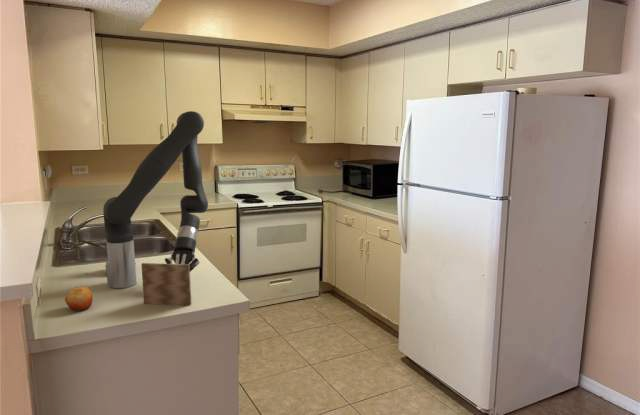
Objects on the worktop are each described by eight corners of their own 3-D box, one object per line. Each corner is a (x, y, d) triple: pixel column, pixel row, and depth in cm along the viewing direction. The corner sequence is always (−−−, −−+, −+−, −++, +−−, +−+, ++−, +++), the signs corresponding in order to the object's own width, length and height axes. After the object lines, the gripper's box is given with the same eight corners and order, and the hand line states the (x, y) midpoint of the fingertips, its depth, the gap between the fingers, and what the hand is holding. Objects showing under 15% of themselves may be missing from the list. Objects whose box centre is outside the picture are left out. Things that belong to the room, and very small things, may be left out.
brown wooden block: (144, 303, 152) (141, 264, 149) (151, 297, 158) (149, 258, 155) (190, 305, 151) (188, 265, 149) (196, 298, 157) (194, 259, 154)
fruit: (100, 297, 153) (93, 282, 148) (92, 317, 147) (84, 302, 142) (76, 297, 153) (68, 282, 148) (67, 317, 147) (58, 302, 142)
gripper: (165, 235, 166) (155, 278, 157) (201, 235, 166) (192, 279, 156) (172, 245, 173) (162, 287, 163) (206, 245, 172) (198, 287, 163)
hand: (177, 283), depth 160 cm, fingers closed
